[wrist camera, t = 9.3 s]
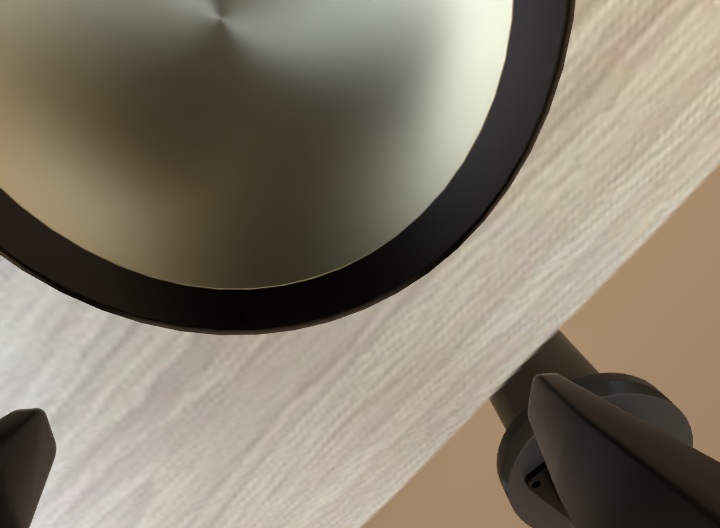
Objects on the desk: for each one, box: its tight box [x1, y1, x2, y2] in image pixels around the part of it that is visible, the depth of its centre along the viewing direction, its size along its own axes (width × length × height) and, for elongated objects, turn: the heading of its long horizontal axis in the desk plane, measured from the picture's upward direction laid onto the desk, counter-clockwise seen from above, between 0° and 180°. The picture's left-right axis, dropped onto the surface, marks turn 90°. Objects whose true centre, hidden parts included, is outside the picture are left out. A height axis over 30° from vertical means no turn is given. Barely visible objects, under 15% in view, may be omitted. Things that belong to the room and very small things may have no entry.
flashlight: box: [0, 0, 575, 335], centre depth 6 cm, size 4×4×8 cm
